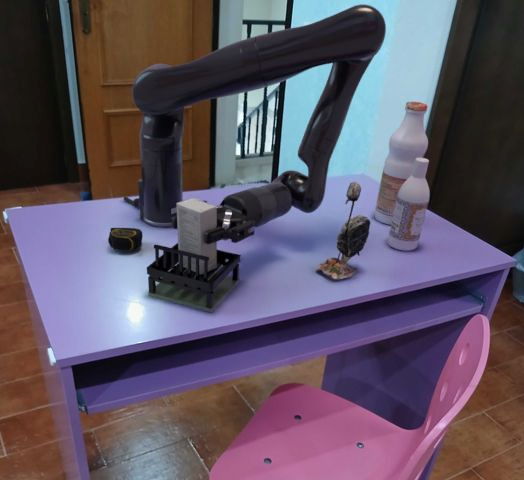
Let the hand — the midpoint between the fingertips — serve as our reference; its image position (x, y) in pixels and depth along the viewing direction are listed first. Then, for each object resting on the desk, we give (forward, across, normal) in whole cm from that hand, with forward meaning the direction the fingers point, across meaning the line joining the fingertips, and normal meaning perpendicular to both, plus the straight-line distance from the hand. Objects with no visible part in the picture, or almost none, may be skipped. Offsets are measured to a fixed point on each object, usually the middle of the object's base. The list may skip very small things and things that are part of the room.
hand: (188, 230), depth 99 cm
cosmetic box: (-2, 0, +8) cm, 8 cm away
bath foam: (-52, +18, +12) cm, 56 cm away
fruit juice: (-64, +8, +12) cm, 66 cm away
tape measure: (-3, -23, +12) cm, 27 cm away
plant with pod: (-30, +15, +12) cm, 35 cm away
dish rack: (-1, 0, +12) cm, 12 cm away
